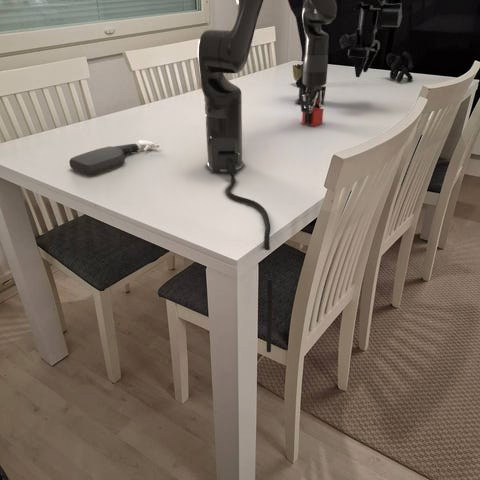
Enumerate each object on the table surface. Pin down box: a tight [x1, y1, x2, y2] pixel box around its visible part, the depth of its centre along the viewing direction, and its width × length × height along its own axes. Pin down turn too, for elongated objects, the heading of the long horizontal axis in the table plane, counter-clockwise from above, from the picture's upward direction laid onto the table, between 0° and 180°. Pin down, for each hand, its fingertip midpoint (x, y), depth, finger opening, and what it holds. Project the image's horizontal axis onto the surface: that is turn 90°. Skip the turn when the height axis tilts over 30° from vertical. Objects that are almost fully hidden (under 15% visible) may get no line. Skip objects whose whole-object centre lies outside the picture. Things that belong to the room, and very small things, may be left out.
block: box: [301, 107, 324, 127], centre depth 148 cm, size 5×5×5 cm
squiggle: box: [385, 51, 414, 83], centre depth 198 cm, size 11×10×15 cm
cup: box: [292, 63, 303, 82], centre depth 194 cm, size 8×7×8 cm
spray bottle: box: [68, 139, 160, 177], centre depth 124 cm, size 3×11×24 cm
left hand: (311, 121), depth 149 cm, fingers closed on block, 5 cm apart
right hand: (361, 74), depth 157 cm, fingers open, 9 cm apart
